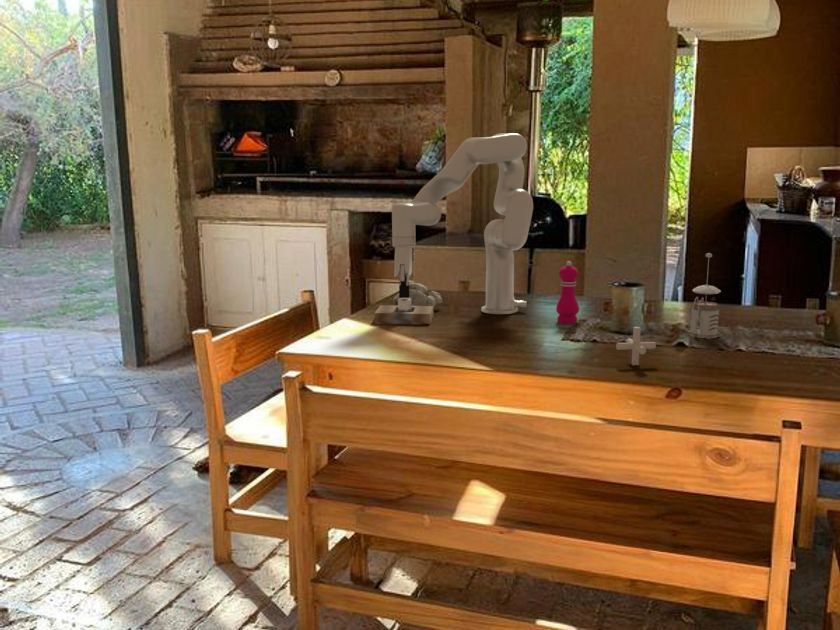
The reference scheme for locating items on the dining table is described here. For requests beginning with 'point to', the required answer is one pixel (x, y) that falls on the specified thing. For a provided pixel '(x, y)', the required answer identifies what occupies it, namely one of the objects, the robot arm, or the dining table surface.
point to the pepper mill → (567, 295)
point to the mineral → (421, 296)
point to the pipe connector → (636, 345)
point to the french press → (705, 310)
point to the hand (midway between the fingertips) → (404, 297)
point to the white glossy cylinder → (404, 305)
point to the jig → (404, 315)
